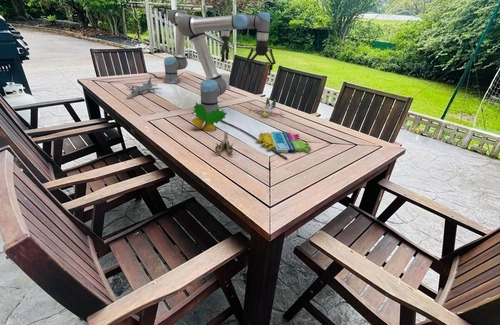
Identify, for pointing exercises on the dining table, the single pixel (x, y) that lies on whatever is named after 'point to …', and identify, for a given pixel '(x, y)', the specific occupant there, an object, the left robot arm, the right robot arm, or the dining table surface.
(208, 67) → the right robot arm
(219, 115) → the ornament
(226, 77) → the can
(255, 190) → the dining table surface
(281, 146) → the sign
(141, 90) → the airplane
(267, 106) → the toy
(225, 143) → the jawbone
